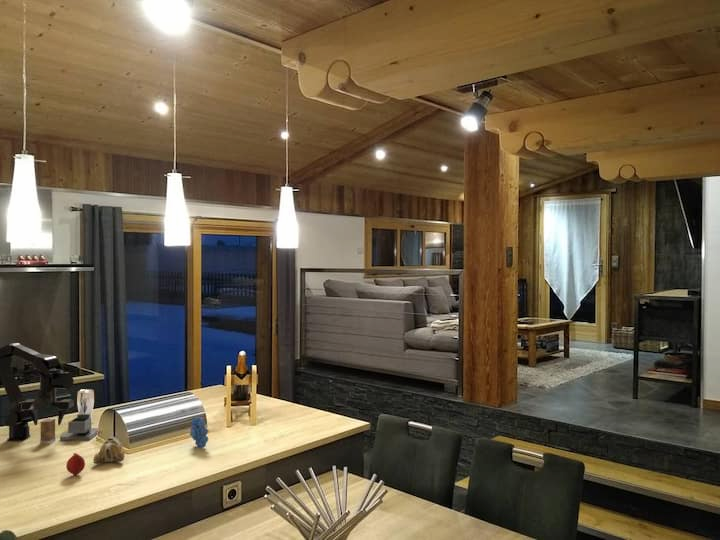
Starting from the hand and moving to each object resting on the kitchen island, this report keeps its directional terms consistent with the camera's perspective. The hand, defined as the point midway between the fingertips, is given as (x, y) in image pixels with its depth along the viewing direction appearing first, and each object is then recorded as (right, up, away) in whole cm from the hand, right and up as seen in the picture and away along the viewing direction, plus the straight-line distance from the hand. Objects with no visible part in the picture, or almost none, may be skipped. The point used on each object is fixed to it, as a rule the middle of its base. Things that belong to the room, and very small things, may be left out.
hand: (47, 425), depth 238 cm
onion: (+29, -9, -35) cm, 46 cm away
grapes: (+62, -8, -3) cm, 63 cm away
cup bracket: (+9, -7, +9) cm, 15 cm away
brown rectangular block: (0, -7, 0) cm, 7 cm away
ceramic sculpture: (+34, -8, -20) cm, 40 cm away
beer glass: (+3, -7, +26) cm, 27 cm away
